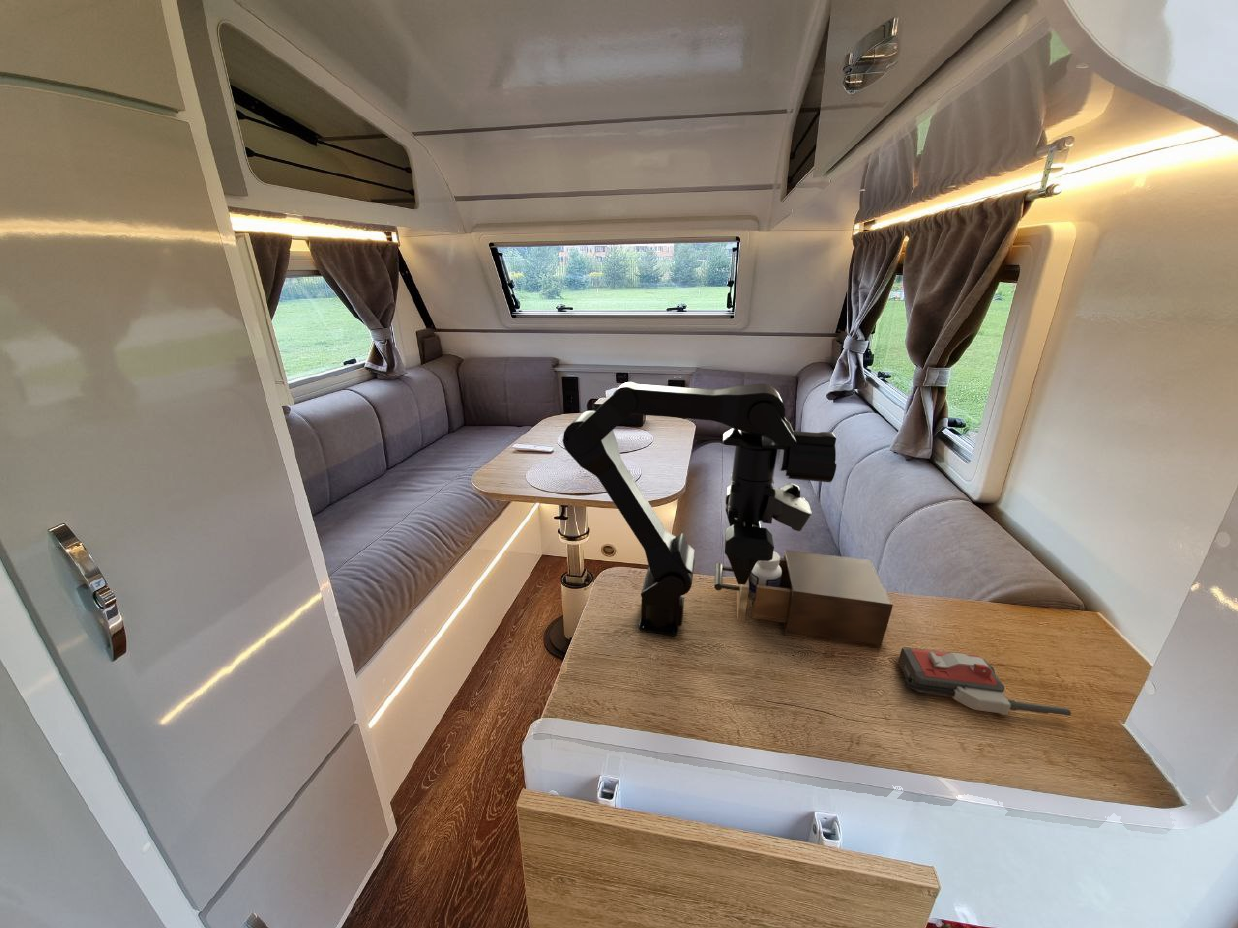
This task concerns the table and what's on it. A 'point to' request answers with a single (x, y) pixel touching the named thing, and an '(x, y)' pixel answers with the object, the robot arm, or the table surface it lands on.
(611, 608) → the table surface
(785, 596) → the drawer
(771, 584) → the pill bottle
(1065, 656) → the table surface
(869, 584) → the cabinet
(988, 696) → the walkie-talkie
